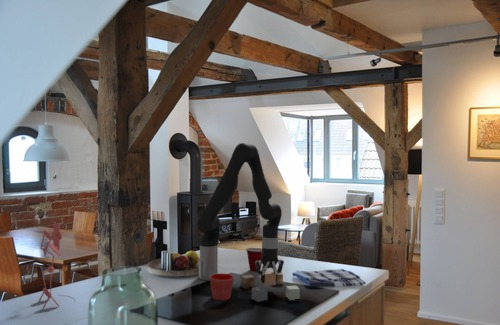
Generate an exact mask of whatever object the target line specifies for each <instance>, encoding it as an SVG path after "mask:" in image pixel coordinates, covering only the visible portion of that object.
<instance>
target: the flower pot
mask: <svg viewBox="0 0 500 325" xmlns="http://www.w3.org/2000/svg"><path fill="white" fill-rule="evenodd" d="M209 281H210V287H211V294H212V295H211V296H212V299H213V300H214V301H215V300H216V301H228V300H229V299H230V298H231V295H232V289H233V283H234V275H232V274H230V273H218V274H213V275H211V276H210V280H209Z"/></svg>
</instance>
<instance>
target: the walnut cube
mask: <svg viewBox="0 0 500 325" xmlns="http://www.w3.org/2000/svg"><path fill="white" fill-rule="evenodd" d="M255 283H256V280H255V276H254V275H251V274H245V275H244V274H243V275H241V276H240V286H241V287H242V288H244V289H250V288H249V287H252V288H254V287H256V286H255Z"/></svg>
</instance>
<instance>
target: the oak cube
mask: <svg viewBox="0 0 500 325" xmlns="http://www.w3.org/2000/svg"><path fill="white" fill-rule="evenodd" d="M276 284H279V285H280V284H283V285H284V274H283V271H281V273H278V274H277V281H276ZM279 285H278V286H279Z"/></svg>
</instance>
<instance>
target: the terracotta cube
mask: <svg viewBox="0 0 500 325" xmlns="http://www.w3.org/2000/svg"><path fill="white" fill-rule="evenodd" d="M264 275H265V283H263V284H264V286H273V285H274V286H276V274H275V273H274V272H273V270H272V271H266V272H265V274H264Z"/></svg>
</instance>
